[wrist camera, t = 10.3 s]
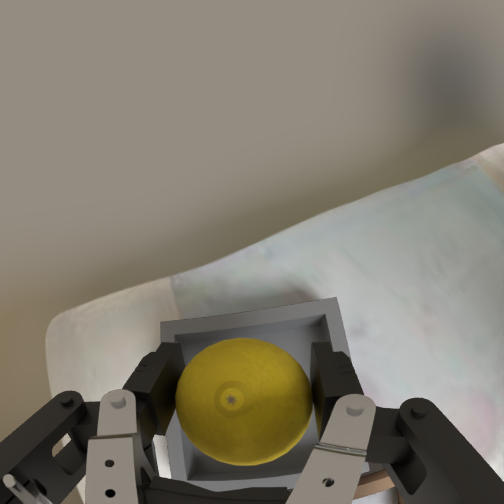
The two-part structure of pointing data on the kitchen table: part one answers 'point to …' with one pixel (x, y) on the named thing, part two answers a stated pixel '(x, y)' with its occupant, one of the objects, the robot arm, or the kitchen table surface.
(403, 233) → the kitchen table surface
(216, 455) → the lemon
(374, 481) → the wooden square frame
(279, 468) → the charcoal tray
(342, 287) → the kitchen table surface
